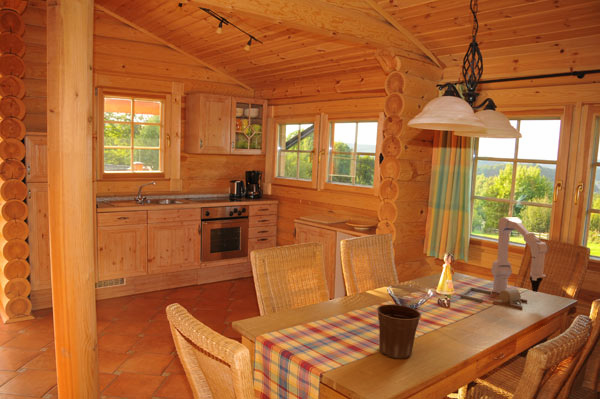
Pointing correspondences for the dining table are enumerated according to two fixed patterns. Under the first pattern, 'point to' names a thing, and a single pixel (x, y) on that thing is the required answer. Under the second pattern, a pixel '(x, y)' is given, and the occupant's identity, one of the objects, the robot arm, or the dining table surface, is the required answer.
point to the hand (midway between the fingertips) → (534, 291)
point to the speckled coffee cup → (510, 296)
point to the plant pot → (397, 330)
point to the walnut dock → (510, 304)
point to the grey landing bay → (474, 297)
